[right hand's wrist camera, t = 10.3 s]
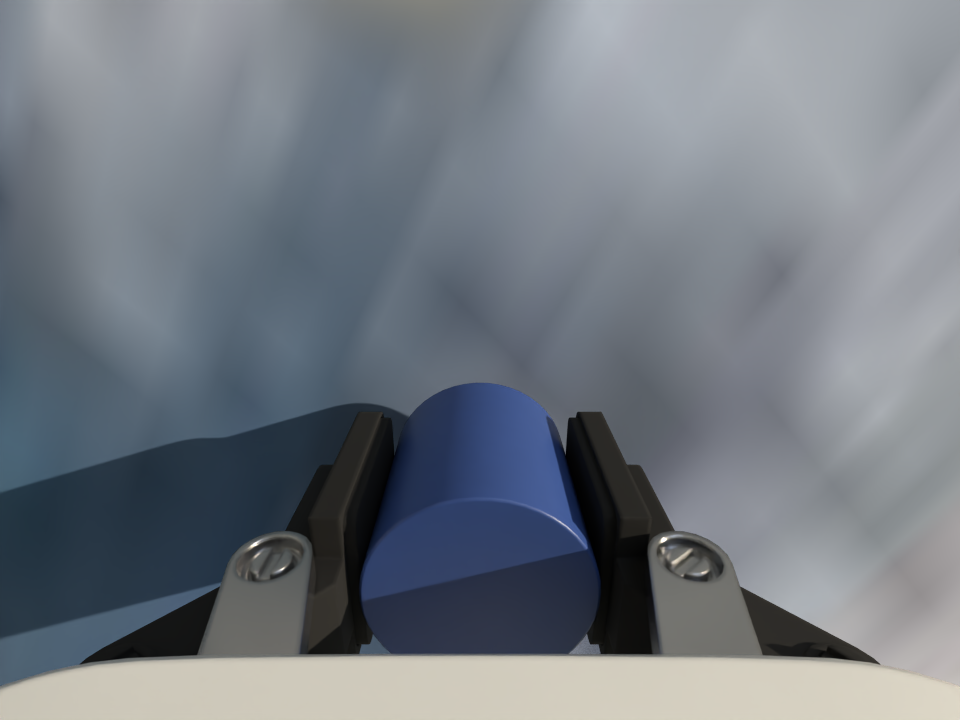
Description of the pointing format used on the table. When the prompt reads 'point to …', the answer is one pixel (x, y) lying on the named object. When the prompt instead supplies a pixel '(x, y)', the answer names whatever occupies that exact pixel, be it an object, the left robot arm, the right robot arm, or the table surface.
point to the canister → (480, 533)
